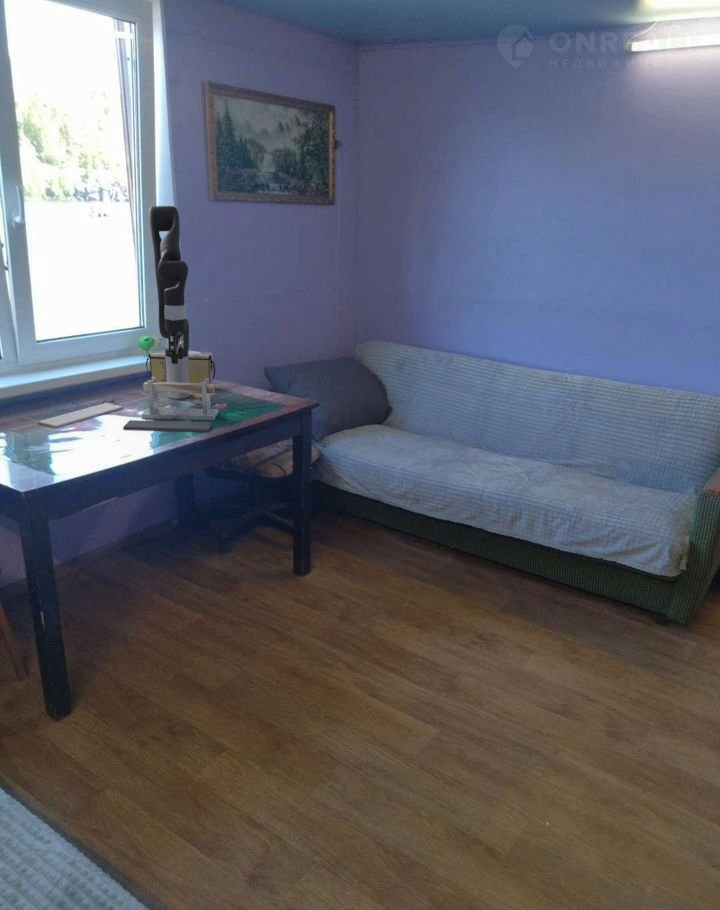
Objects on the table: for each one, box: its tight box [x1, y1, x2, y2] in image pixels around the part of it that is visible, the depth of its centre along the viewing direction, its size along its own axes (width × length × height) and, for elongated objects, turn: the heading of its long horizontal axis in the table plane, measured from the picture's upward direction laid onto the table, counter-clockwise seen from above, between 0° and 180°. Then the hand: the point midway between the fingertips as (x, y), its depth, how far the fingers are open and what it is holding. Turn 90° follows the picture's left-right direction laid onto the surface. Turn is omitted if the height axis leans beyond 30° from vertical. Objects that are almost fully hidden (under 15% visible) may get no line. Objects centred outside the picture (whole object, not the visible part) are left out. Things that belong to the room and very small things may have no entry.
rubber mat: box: [123, 419, 213, 433], centre depth 253 cm, size 8×30×1 cm, turn 91°
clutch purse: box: [145, 352, 216, 384], centre depth 307 cm, size 30×7×15 cm, turn 92°
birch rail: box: [142, 381, 216, 394], centre depth 264 cm, size 3×26×3 cm, turn 91°
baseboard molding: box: [36, 399, 124, 429], centre depth 264 cm, size 31×3×12 cm
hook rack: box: [140, 377, 219, 421], centre depth 265 cm, size 10×27×14 cm, turn 91°
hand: (177, 361), depth 261 cm, fingers open, 8 cm apart
